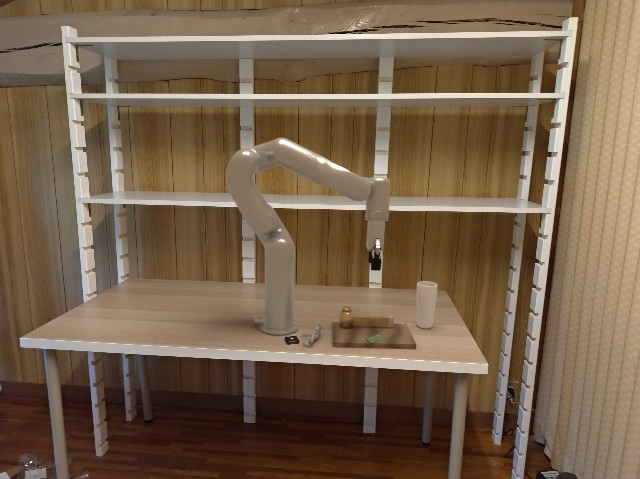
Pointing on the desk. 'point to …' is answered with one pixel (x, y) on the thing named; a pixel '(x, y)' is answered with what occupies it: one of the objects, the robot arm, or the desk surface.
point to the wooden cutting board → (373, 336)
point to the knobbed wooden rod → (363, 319)
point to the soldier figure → (313, 334)
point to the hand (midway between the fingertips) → (374, 266)
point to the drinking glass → (426, 303)
